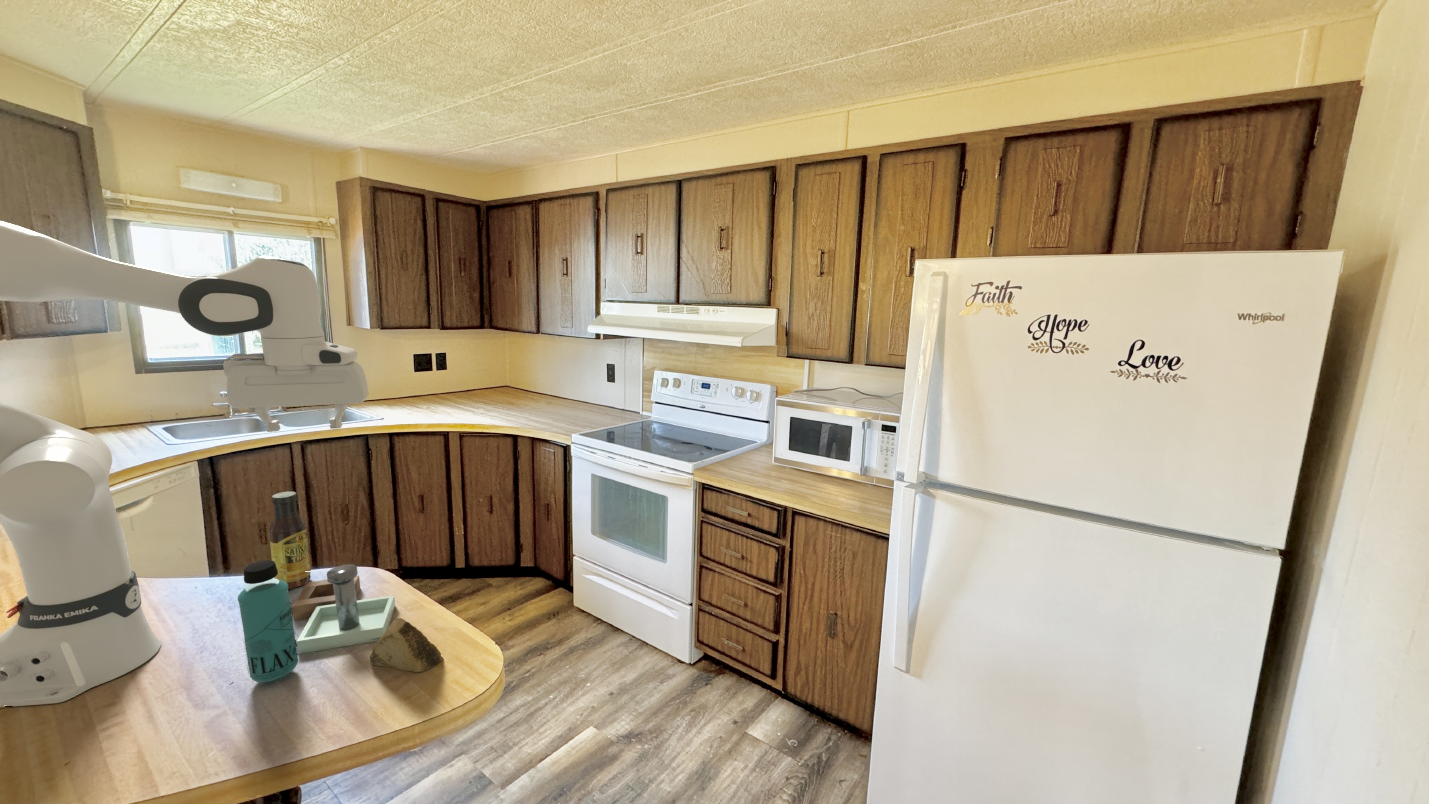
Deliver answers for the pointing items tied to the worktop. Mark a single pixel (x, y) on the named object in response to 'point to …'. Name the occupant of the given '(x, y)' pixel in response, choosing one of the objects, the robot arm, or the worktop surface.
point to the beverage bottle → (267, 623)
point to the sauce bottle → (289, 541)
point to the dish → (327, 634)
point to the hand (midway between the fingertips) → (305, 429)
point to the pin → (345, 595)
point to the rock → (405, 649)
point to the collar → (316, 597)
